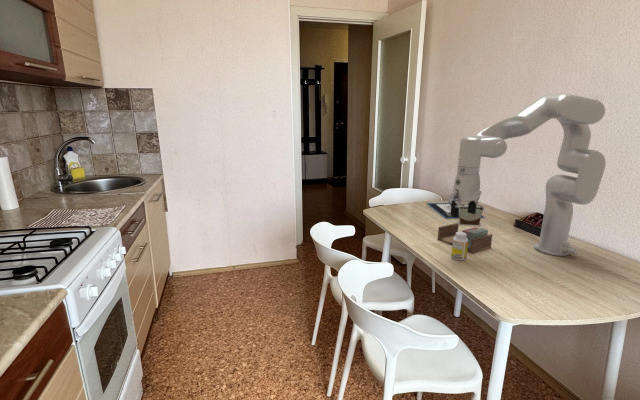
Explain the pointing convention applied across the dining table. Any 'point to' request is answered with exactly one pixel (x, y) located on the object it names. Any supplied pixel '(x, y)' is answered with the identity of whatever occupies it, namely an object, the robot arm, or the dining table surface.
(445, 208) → the sketchbook
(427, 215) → the dining table surface
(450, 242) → the rack
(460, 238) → the supplement bottle
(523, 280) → the dining table surface
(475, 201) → the robot arm
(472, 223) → the food container
